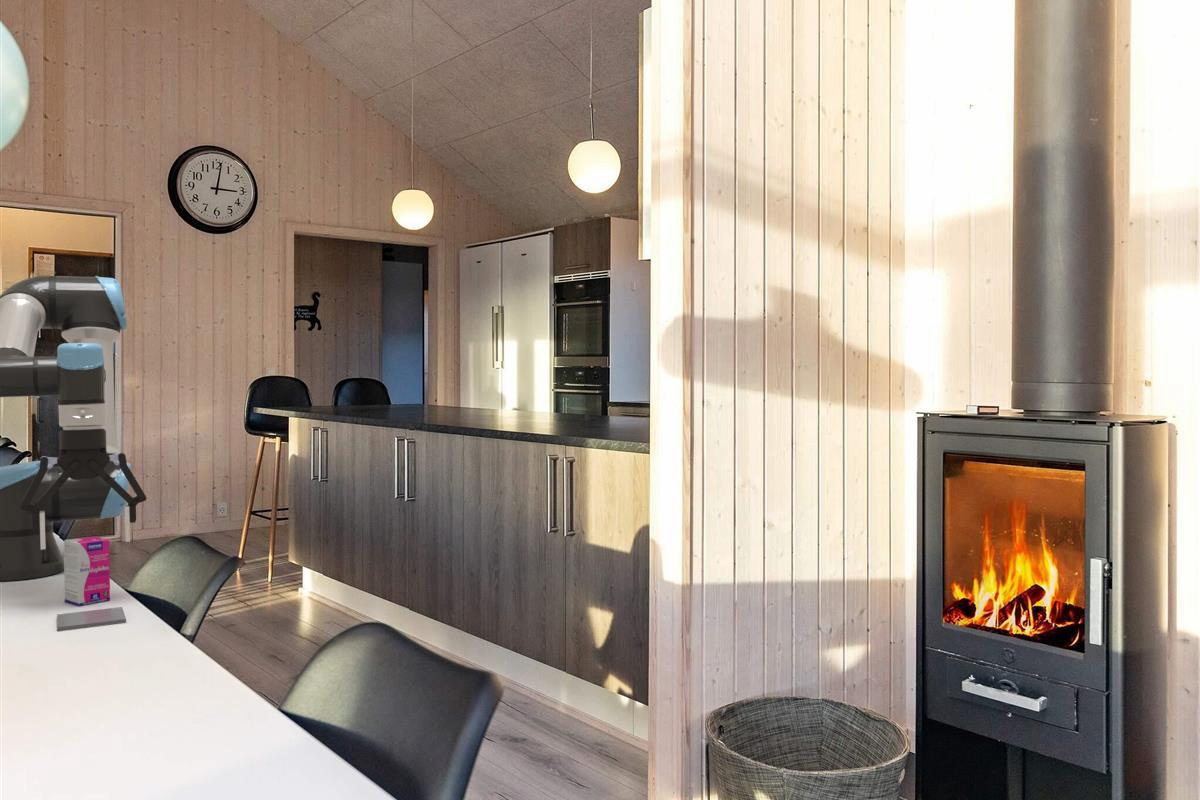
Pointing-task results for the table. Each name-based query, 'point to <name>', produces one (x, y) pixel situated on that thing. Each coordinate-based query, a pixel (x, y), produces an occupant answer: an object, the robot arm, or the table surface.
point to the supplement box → (86, 570)
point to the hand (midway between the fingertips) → (86, 544)
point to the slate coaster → (90, 618)
